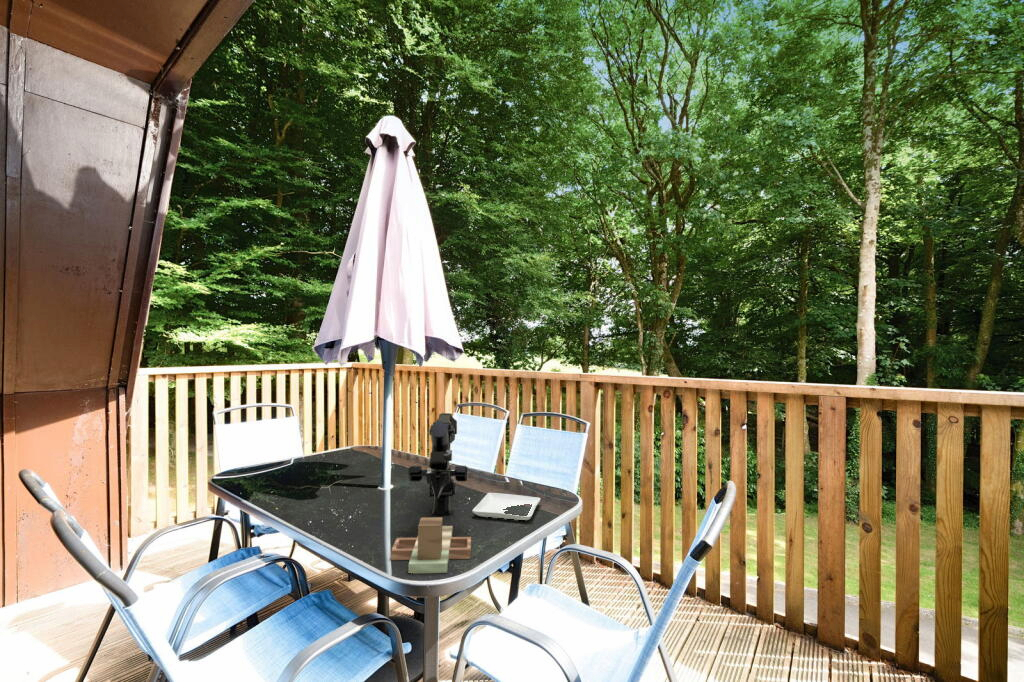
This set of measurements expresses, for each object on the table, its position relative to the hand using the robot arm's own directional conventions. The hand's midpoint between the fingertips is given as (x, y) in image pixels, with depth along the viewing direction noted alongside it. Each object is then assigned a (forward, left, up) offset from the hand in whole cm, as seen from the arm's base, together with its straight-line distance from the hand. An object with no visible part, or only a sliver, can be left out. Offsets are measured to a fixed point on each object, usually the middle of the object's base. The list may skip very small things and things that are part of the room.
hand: (436, 498), depth 144 cm
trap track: (+10, 0, -12) cm, 16 cm away
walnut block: (+17, 0, -10) cm, 20 cm away
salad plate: (-23, +24, -13) cm, 36 cm away
